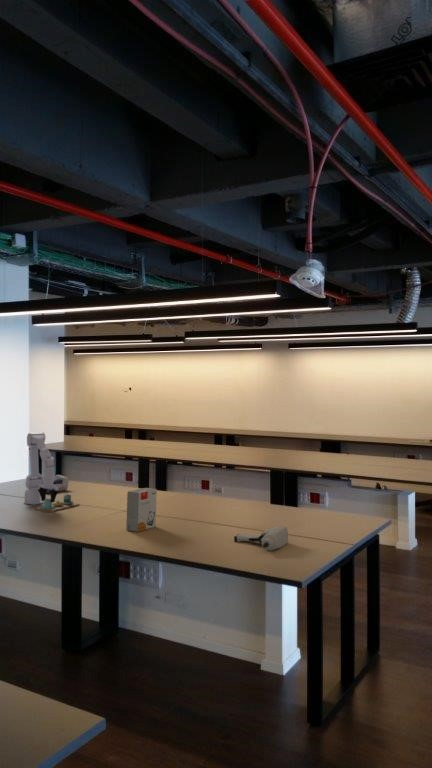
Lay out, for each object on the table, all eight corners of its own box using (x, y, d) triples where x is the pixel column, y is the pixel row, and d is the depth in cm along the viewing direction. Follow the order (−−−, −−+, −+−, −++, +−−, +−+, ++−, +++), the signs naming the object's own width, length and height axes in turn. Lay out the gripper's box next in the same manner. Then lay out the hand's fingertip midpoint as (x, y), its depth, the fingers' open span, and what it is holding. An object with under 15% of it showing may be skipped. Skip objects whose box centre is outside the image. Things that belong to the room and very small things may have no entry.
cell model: (70, 475, 402) (48, 479, 386) (70, 490, 402) (48, 495, 386) (58, 473, 409) (35, 477, 393) (58, 488, 410) (35, 493, 393)
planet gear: (38, 508, 337) (38, 499, 337) (48, 506, 344) (48, 497, 344) (47, 510, 333) (48, 501, 333) (57, 507, 340) (57, 499, 340)
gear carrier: (51, 512, 332) (51, 500, 332) (35, 509, 339) (35, 498, 339) (79, 505, 352) (79, 494, 352) (63, 503, 359) (64, 492, 359)
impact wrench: (221, 542, 263) (271, 535, 253) (239, 531, 284) (286, 525, 274) (224, 560, 262) (275, 554, 252) (242, 547, 283) (290, 542, 273)
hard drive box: (137, 532, 289) (137, 493, 289) (125, 530, 293) (126, 491, 293) (156, 526, 302) (156, 488, 302) (145, 524, 306) (145, 487, 306)
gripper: (34, 478, 339) (34, 501, 339) (52, 480, 332) (51, 504, 332) (43, 476, 345) (43, 499, 345) (61, 478, 338) (60, 501, 338)
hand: (48, 501), depth 339 cm, fingers open, 7 cm apart
